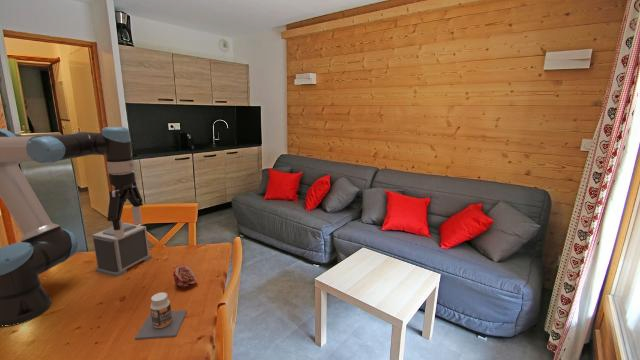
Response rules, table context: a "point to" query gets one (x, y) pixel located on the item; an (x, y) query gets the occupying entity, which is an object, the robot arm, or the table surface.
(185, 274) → the flower
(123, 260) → the grey box
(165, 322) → the pill bottle
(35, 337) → the table surface
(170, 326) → the slate coaster
